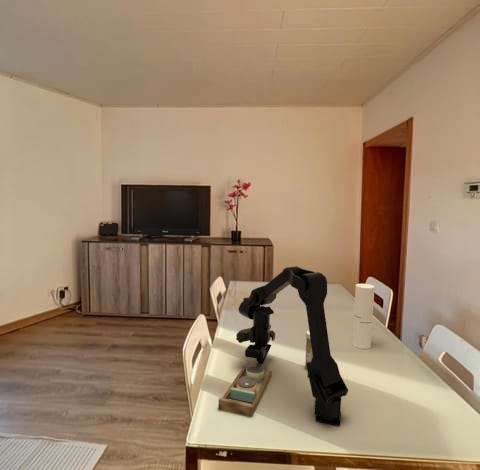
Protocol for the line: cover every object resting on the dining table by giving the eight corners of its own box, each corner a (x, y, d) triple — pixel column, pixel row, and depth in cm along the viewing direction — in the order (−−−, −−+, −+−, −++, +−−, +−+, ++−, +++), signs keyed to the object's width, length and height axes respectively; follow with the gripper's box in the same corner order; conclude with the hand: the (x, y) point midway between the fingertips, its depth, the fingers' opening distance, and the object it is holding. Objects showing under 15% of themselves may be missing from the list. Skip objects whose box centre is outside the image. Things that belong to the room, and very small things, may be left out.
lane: (271, 376, 119) (271, 367, 119) (252, 417, 97) (252, 406, 97) (243, 371, 122) (243, 362, 122) (218, 409, 101) (218, 399, 100)
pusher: (254, 400, 105) (255, 391, 104) (253, 403, 104) (253, 394, 103) (231, 395, 107) (231, 387, 107) (230, 398, 106) (230, 389, 106)
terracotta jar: (258, 390, 111) (258, 378, 110) (252, 400, 105) (253, 388, 105) (240, 386, 113) (240, 374, 112) (233, 396, 107) (234, 384, 107)
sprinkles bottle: (303, 365, 127) (304, 329, 125) (315, 365, 127) (317, 329, 126) (306, 372, 122) (308, 334, 121) (319, 371, 123) (321, 334, 121)
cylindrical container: (357, 340, 150) (360, 282, 147) (373, 345, 145) (377, 286, 142) (349, 344, 145) (352, 285, 142) (365, 350, 140) (369, 289, 137)
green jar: (265, 375, 120) (266, 364, 119) (261, 384, 114) (261, 372, 114) (248, 372, 122) (248, 361, 121) (243, 381, 116) (244, 369, 115)
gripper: (247, 312, 133) (246, 351, 135) (230, 330, 116) (229, 375, 118) (276, 316, 130) (275, 356, 132) (263, 335, 112) (261, 381, 114)
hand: (260, 366), depth 124 cm, fingers closed
